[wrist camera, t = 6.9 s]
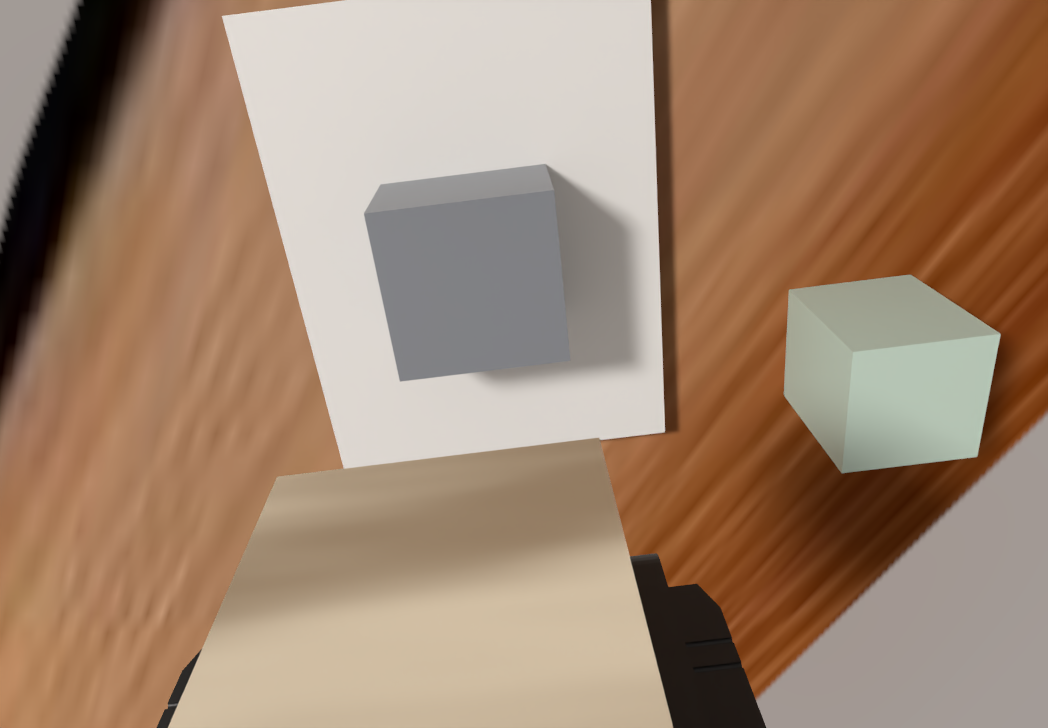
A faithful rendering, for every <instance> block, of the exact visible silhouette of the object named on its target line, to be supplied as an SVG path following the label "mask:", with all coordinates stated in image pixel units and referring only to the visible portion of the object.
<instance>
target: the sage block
mask: <svg viewBox="0 0 1048 728" xmlns="http://www.w3.org/2000/svg"><path fill="white" fill-rule="evenodd" d="M1000 335H1001V334H1000V333H999V332H997V331H996V330H994V329H992V328H991V327H989V326H988V325H986V324H985V323H983V322H982V321H980V320H979V319H977V318H976V317H974V316H973V315H971V314H970V313H968V312H967V311H965V310H964V309H962V308H961V307H959V306H958V305H956V304H954V303H953V302H951V301H950V300H948V299H947V298H945V297H944V296H942V295H941V294H939V293H938V292H936V291H935V290H933V289H932V288H930V287H929V286H927V285H926V284H924V283H923V282H921V281H919V280H918V279H916V278H915V277H913V276H912V275H903V276H895V277H887V278H879V279H871V280H863V281H855V282H847V283H839V284H831V285H823V286H815V287H807V288H799V289H791V290H789V299H788V320H787V340H786V361H785V382H784V396H785V398H786V399H787V400H788V402H789V403H790V404H791V406H792V407H793V408H794V410H795V411H796V412H797V414H798V415H799V416H800V418H801V419H802V420H803V422H804V423H805V424H806V426H807V427H808V429H809V430H810V431H811V433H812V434H813V435H814V437H815V438H816V439H817V441H818V442H819V443H820V445H821V446H822V447H823V449H824V450H825V451H826V453H827V454H828V455H829V457H830V458H831V459H832V461H833V462H834V464H835V465H836V466H837V468H838V469H839V470H840V472H841V473H848V472H856V471H865V470H873V469H881V468H889V467H898V466H906V465H914V464H922V463H931V462H939V461H947V460H955V459H964V458H972V457H977V455H978V450H979V445H980V440H981V434H982V429H983V424H984V419H985V413H986V408H987V403H988V398H989V392H990V387H991V382H992V377H993V371H994V366H995V361H996V356H997V350H998V345H999V340H1000Z"/></svg>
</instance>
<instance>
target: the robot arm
mask: <svg viewBox="0 0 1048 728" xmlns="http://www.w3.org/2000/svg"><path fill="white" fill-rule="evenodd" d="M630 560H631V564H632V568H633V572H634V576H635V580H636V583H637V587H638V591H639V595H640V599H641V603H642V607H643V611H644V615H645V619H646V623H647V627H648V630H649V634H650V638H651V642H652V646H653V650H654V654H655V658H656V662H657V666H658V670H659V673H660V677H661V681H662V685H663V689H664V693H665V697H666V701H667V705H668V709H669V713H670V717H671V720H672V724H673V728H766V726H765V723H764V721H763V718H762V715H761V713H760V710H759V708H758V705H757V702H756V700H755V697H754V695H753V692H752V689H751V687H750V684H749V681H748V679H747V676H746V674H745V671H744V668H742V666H741V660H740V658H739V655H738V653H737V650H736V647H735V645H734V643H733V642H732V637H731V634H730V632H729V629H728V626H727V624H726V621H725V619H724V616H723V613H722V611H721V608H720V607H719V606H718V605H717V604H716V603H715V602H714V601H713V600H712V599H711V598H710V597H709V596H708V595H707V594H706V593H705V592H704V591H703V590H702V588H701V587H700V586H699V585H698V584H692V585H684V586H675V587H668V585H667V582H666V579H665V575H664V572H663V569H662V566H661V562H660V559H659V557H658V555H657V554H648V555H639V556H631V557H630ZM201 651H202V649H201V650H200V652H199V653H198V654H197V655H196V656H195V657H194V658H193V659H192V661H191V662H190V663H189V664H188V665H187V666H186V667H185V668H184V670H183V671H182V673H181V675H180V677H179V679H178V682H177V684H176V686H175V688H174V690H173V693H172V695H171V697H170V699H169V702H168V709H165V710H164V713H163V715H162V717H161V719H160V721H159V724H158V726H157V728H168V726H169V724H170V722H171V719H172V717H173V715H174V713H175V710H176V708H177V706H178V703H179V701H180V699H181V696H182V694H183V692H184V690H185V687H186V685H187V683H188V680H189V678H190V676H191V674H192V671H193V669H194V667H195V664H196V662H197V660H198V657H199V655H200V653H201Z"/></svg>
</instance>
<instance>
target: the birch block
mask: <svg viewBox="0 0 1048 728" xmlns="http://www.w3.org/2000/svg"><path fill="white" fill-rule="evenodd" d="M168 728H673V724H672V720H671V717H670V713H669V709H668V705H667V701H666V697H665V693H664V689H663V685H662V681H661V677H660V673H659V670H658V666H657V662H656V658H655V654H654V650H653V646H652V642H651V638H650V634H649V630H648V627H647V623H646V619H645V615H644V611H643V607H642V603H641V599H640V595H639V591H638V587H637V583H636V580H635V576H634V572H633V568H632V564H631V560H630V556H629V552H628V548H627V544H626V540H625V536H624V533H623V529H622V525H621V521H620V517H619V513H618V509H617V505H616V501H615V497H614V493H613V489H612V486H611V482H610V478H609V474H608V470H607V466H606V462H605V458H604V454H603V450H602V446H601V443H600V439H599V438H592V439H583V440H575V441H567V442H559V443H551V444H543V445H534V446H526V447H518V448H510V449H502V450H493V451H485V452H477V453H469V454H461V455H452V456H444V457H436V458H428V459H420V460H411V461H403V462H395V463H387V464H379V465H370V466H362V467H354V468H346V469H338V470H330V471H321V472H313V473H305V474H297V475H289V476H280V477H277V479H276V481H275V483H274V485H273V488H272V490H271V492H270V495H269V497H268V499H267V501H266V504H265V506H264V508H263V511H262V513H261V515H260V518H259V520H258V522H257V524H256V527H255V529H254V531H253V534H252V536H251V538H250V540H249V543H248V545H247V547H246V550H245V552H244V554H243V557H242V559H241V561H240V563H239V566H238V568H237V570H236V573H235V575H234V577H233V579H232V582H231V584H230V586H229V589H228V591H227V593H226V596H225V598H224V600H223V602H222V605H221V607H220V609H219V612H218V614H217V616H216V618H215V621H214V623H213V625H212V628H211V630H210V632H209V635H208V637H207V639H206V641H205V644H204V646H203V648H202V651H201V653H200V655H199V657H198V660H197V662H196V664H195V667H194V669H193V671H192V674H191V676H190V678H189V680H188V683H187V685H186V687H185V690H184V692H183V694H182V696H181V699H180V701H179V703H178V706H177V708H176V710H175V713H174V715H173V717H172V719H171V722H170V724H169V726H168Z"/></svg>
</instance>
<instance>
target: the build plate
mask: <svg viewBox="0 0 1048 728" xmlns="http://www.w3.org/2000/svg"><path fill="white" fill-rule="evenodd" d="M222 18H223V22H224V25H225V29H226V33H227V36H228V40H229V44H230V48H231V51H232V55H233V59H234V62H235V66H236V70H237V73H238V77H239V81H240V85H241V88H242V92H243V96H244V99H245V103H246V107H247V111H248V114H249V118H250V122H251V125H252V129H253V133H254V137H255V140H256V144H257V148H258V151H259V155H260V159H261V163H262V166H263V170H264V174H265V177H266V181H267V185H268V188H269V192H270V196H271V200H272V203H273V207H274V211H275V214H276V218H277V222H278V226H279V229H280V233H281V237H282V240H283V244H284V248H285V252H286V255H287V259H288V263H289V266H290V270H291V274H292V277H293V281H294V285H295V289H296V292H297V296H298V300H299V303H300V307H301V311H302V315H303V318H304V322H305V326H306V329H307V333H308V337H309V341H310V344H311V348H312V352H313V355H314V359H315V363H316V367H317V370H318V374H319V378H320V381H321V385H322V389H323V392H324V396H325V400H326V404H327V407H328V411H329V415H330V418H331V422H332V426H333V430H334V433H335V437H336V441H337V444H338V448H339V452H340V456H341V459H342V463H343V467H344V469H346V468H354V467H362V466H370V465H379V464H387V463H395V462H403V461H411V460H420V459H428V458H436V457H444V456H452V455H461V454H469V453H477V452H485V451H493V450H502V449H510V448H518V447H526V446H534V445H543V444H551V443H559V442H567V441H575V440H583V439H592V438H599V439H600V440H605V439H613V438H622V437H630V436H638V435H647V434H655V433H663V432H665V415H664V385H663V355H662V324H661V294H660V263H659V233H658V203H657V172H656V142H655V112H654V81H653V51H652V21H651V0H345V1H337V2H329V3H321V4H313V5H305V6H298V7H290V8H282V9H274V10H266V11H259V12H251V13H243V14H235V15H227V16H222Z"/></svg>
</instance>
